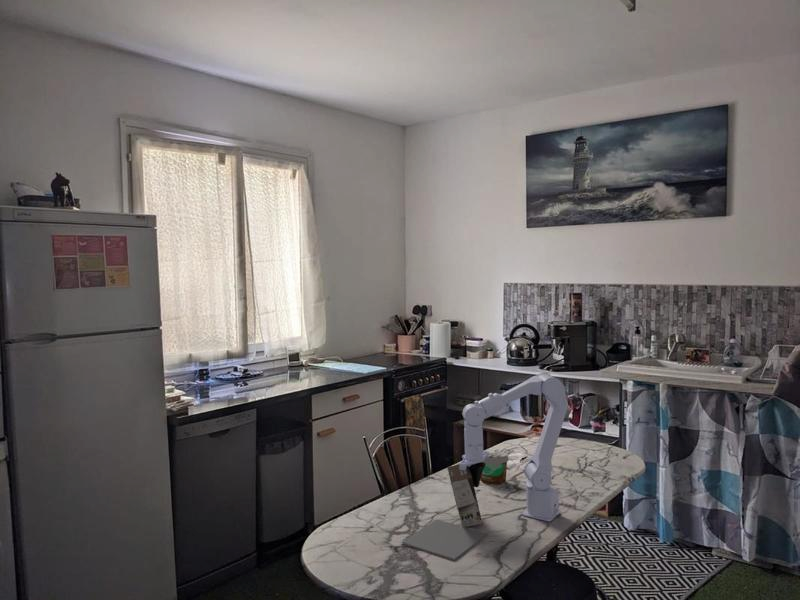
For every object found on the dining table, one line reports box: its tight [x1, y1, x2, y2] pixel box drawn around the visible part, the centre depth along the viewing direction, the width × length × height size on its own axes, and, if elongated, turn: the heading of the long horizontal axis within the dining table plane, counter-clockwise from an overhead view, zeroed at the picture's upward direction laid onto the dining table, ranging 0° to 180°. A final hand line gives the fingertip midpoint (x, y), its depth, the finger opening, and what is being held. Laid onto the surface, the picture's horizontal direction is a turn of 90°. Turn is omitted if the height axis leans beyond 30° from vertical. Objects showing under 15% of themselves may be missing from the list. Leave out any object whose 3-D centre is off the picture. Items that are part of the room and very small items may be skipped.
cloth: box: [507, 452, 528, 471], centre depth 236 cm, size 26×14×2 cm, turn 135°
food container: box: [480, 453, 509, 486], centre depth 214 cm, size 12×6×10 cm, turn 62°
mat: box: [400, 519, 489, 562], centre depth 171 cm, size 18×18×1 cm
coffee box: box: [447, 463, 483, 528], centre depth 180 cm, size 9×6×16 cm
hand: (475, 486), depth 184 cm, fingers closed
